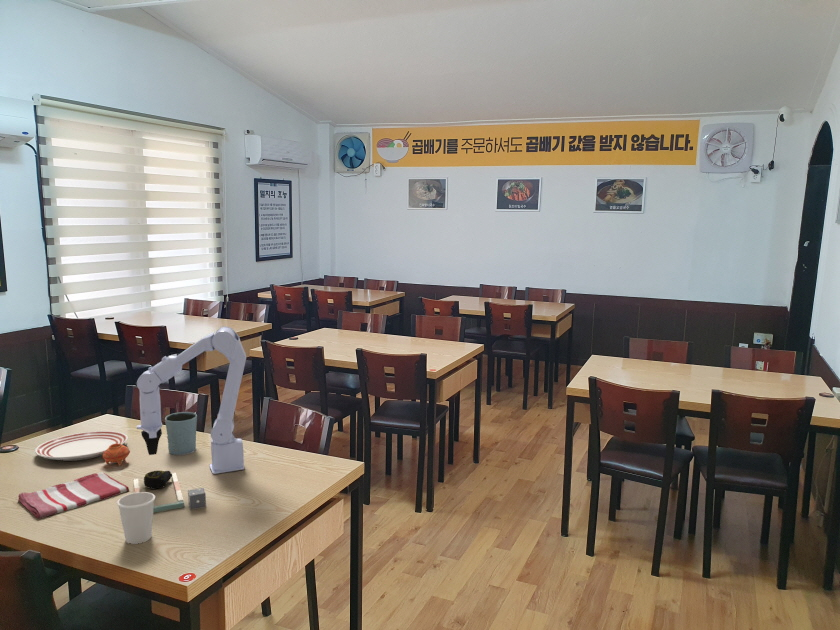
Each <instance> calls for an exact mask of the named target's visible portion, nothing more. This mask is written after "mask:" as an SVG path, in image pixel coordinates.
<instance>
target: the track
mask: <svg viewBox="0 0 840 630" xmlns="http://www.w3.org/2000/svg"><path fill="white" fill-rule="evenodd" d="M171 474H172V477H171V481H172V484H173V488H174V492H175V494H176V499H177V501H176V502H172V503H165V504H160V505H154V508H153V514H154V513H159V512H165V511H170V510H176V509H180V508H185V501H184V498H183V494H182V491H181V486H180V483H179V480H178V476H177V473H176V472H171ZM133 489H134V493H137V492H141V491H140V484H139V478H134V479H133Z"/></svg>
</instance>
